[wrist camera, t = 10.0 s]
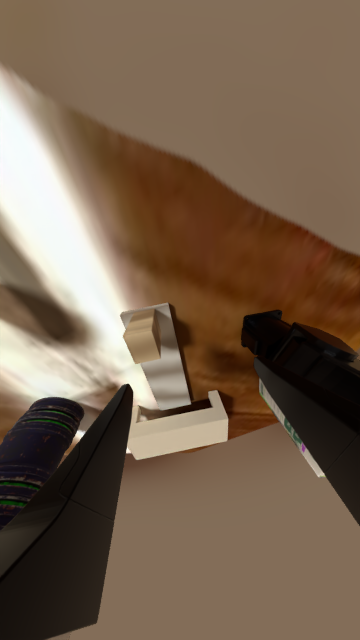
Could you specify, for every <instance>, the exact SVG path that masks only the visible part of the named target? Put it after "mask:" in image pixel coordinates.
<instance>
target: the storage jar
mask: <svg viewBox="0 0 360 640" xmlns="http://www.w3.org/2000/svg"><path fill="white" fill-rule="evenodd" d="M83 416H84V410H83V408H82V407H81V406H80V405H79V404H77V403H76V402H74V401H72V400H69V399H65V398H59V397H48V398H43V399H40V400H37V401H36V402H34V403H33V404H32V406H31V407H30V408H29V410H28V411H27V412H26V413H25V414H24V415H23V416H22V417H21V418H20V419H19V420H18V421H17V422H16V423H15V425H14V426H13V428H12V429H11V430H9V431H8V432H7V435H6V436H5V437H4V439H3V442H2V444H1V445H0V531H1V530H2V529H3V528H4V527H5V526H6V525H7V524H8V523H9V522H11V521H12V520H13V518H14V517H15V516H16V515H17V514H18V513H19V512H20V511H21V510H22V509H23V508H24V506H25V505H26V504H27V503H28V502H29V501H30V500H31V498H32V497H33V496H34V495H35V494H36V493H37V491H38V490H39V489H40V488H41V487H42V486H43V484H44V483H45V482H46V481H47V480H48V479H49V478H50V476H51V475H52V474H53V473H54V472H55V470H56V469H57V467H58V465H59V463H60V461H61V459H62V457H63V455H64V453H65V451H66V450H67V449H68V448H69V446H70V445H71V443H72V440H73V438H74V436H75V434H76V432H77V430H78V427H79V425H80V421H81V420H82V418H83Z"/></svg>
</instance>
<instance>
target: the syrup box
mask: <svg viewBox="0 0 360 640" xmlns="http://www.w3.org/2000/svg"><path fill="white" fill-rule="evenodd" d="M259 389H260V395H261V396H262V398H263V399H264V400H265V402H266V403H267V405H268V406H269V408H270V409H271V410H272V412H273V413H274V415H275V416H276V418H277V419H278V420H279V422H280V423H281V425H282V426H283V428H284V429H285V430H286V432H287V433H288V435H289V436H290V437H291V439H292V440H293V442H294V443H295V445H296V446H297V447H298V449H299V450H300V452H301V453H302V454H303V456H304V457H305V459H306V460H307V462H308V463H309V465H310V466H311V467H312V469H313V470H314V472H315V473H316V474H317V476H318V477H320V478H322V477H326V476H325V475H324V473H323V472H322V470H321V469H320V467H319V466H318V464H317V463H316V461H315V460H314V458H313V457H312V456H311V454H310V453H309V451H308V450H307V448H306V447H305V445H304V444H303V442H302V441H301V440H300V438H299V437H298V435H297V434H296V432H295V431H294V429H293V428H292V426H291V425H290V423H289V422H288V421H287V419H286V418H285V416H284V415H283V413H282V412H281V410H280V409H279V407H278V406H277V405H276V403H275V402H274V400H273V399H272V398H271V396H270V394H269V393H268V391H267V390H266V388H265V386H264V385H263V383H262V381H261V379H260V378H259Z"/></svg>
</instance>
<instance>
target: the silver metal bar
mask: <svg viewBox="0 0 360 640" xmlns="http://www.w3.org/2000/svg"><path fill="white" fill-rule="evenodd" d="M120 317H121V319H122V322H123V324H124V326H125V329H126V330H125V333H124V335H123V338H124V340H125V342H126V344H127V347H128V349H129V351H130V353H131V356H132V358H133V360H134V362H135V364H138V363H140V364H141V367H142V369H143V371H144V374H145V376H146V378H147V381H148V383H149V385H150V388H151V390H152V392H153V395H154V397H155V400H156V402H157V404H158V407H159V409H160V411H162V410H167V409H171V408H176V407H181V406H185V405H190V404H191V401H190V396H189V392H188V388H187V383H186V379H185V374H184V370H183V366H182V361H181V357H180V353H179V348H178V344H177V340H176V335H175V331H174V326H173V322H172V318H171V313H170V309H169V305H168V303H164V304H159V305H154V306H150V307H145V308H140V309H135V310H130V311H125V312H122V313H121V315H120Z"/></svg>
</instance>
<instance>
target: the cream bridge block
mask: <svg viewBox="0 0 360 640" xmlns="http://www.w3.org/2000/svg"><path fill="white" fill-rule="evenodd" d="M209 399H210V403H211V406H212V408H208V409H203V410H198V411H193V412H188V413H183V414H178V415H173V416H168V417H163V418H158V419H153V420H148V421H144V422H140V415H141V409H140V407H139V406H134V407H132V419H131V425H130V431H129V437H128V443H127V447H128V448H129V450H130V451H131V453H132V454H133V455H134V457H135V458H136V460H139V459H144V458H148V457H153V456H158V455H163V454H168V453H172V452H177V451H182V450H187V449H191V448H196V447H201V446H205V445H210V444H215V443H220V442H224V441H227V432H228V417H227V414H226V412H225V409H224V407H223V404H222V402H221V399H220V396H219V394H218V391H217V390H215V391H210V392H209Z"/></svg>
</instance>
